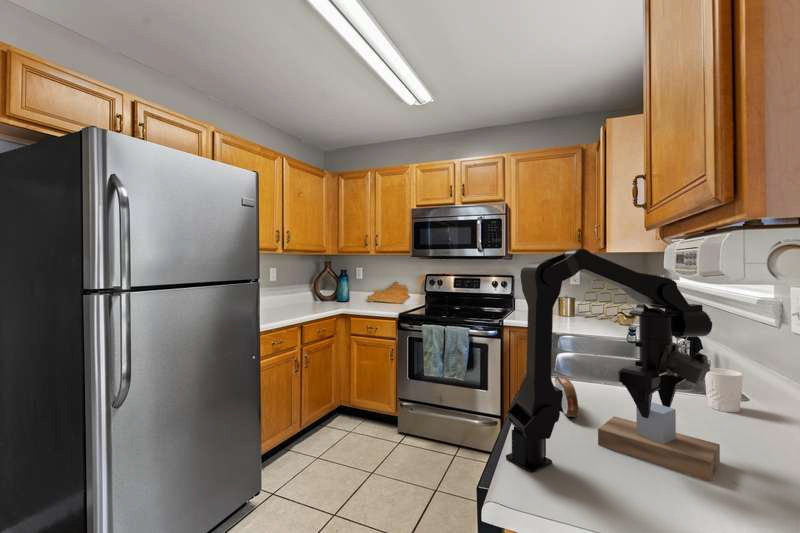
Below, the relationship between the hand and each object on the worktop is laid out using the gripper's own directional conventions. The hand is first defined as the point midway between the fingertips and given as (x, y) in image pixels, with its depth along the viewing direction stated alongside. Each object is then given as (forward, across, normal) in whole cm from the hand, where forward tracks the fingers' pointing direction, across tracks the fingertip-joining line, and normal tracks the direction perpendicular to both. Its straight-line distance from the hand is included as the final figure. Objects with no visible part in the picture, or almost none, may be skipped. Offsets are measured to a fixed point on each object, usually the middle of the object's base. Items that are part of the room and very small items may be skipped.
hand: (656, 412), depth 77 cm
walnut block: (+9, 0, 0) cm, 9 cm away
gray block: (+5, 0, 0) cm, 5 cm away
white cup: (+9, +43, +2) cm, 44 cm away
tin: (+9, +5, +24) cm, 26 cm away
